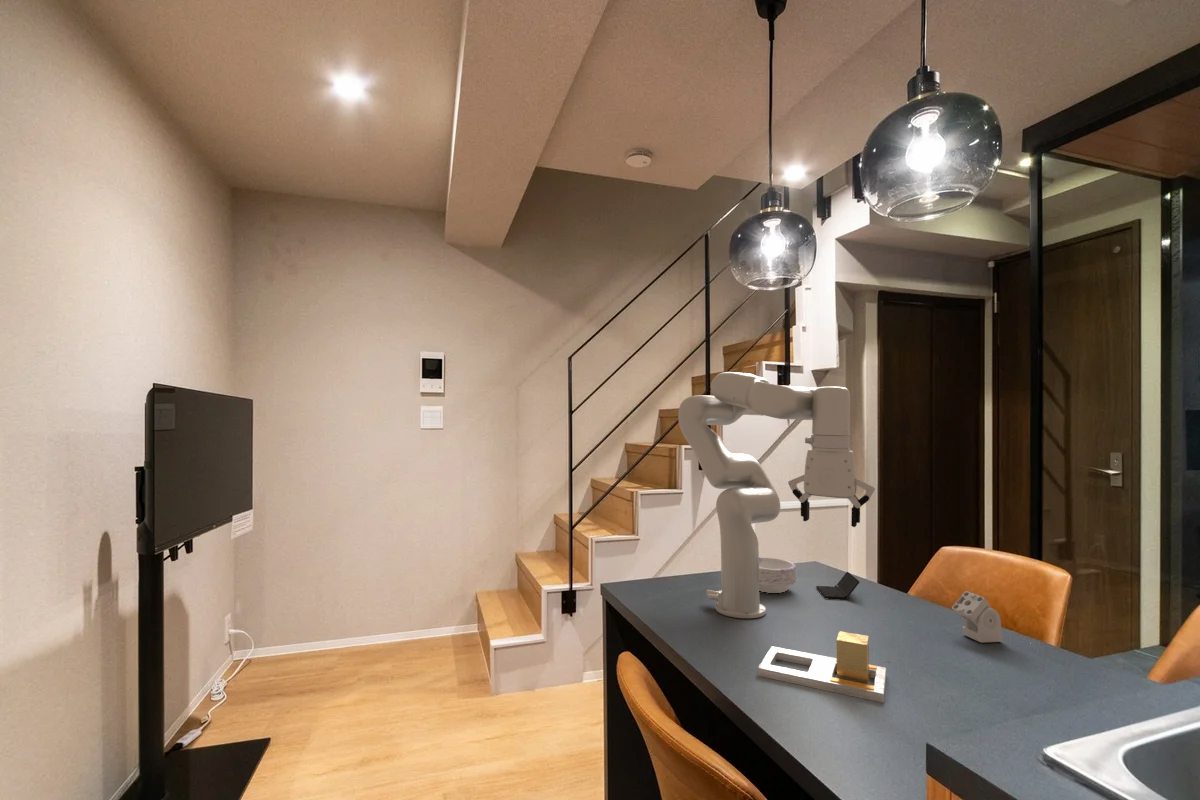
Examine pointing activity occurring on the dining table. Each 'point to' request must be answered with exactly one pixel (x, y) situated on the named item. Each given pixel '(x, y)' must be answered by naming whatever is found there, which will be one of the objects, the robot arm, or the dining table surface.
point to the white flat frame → (821, 674)
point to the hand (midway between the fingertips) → (829, 523)
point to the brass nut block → (853, 657)
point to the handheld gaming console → (840, 588)
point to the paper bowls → (775, 575)
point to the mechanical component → (978, 618)
